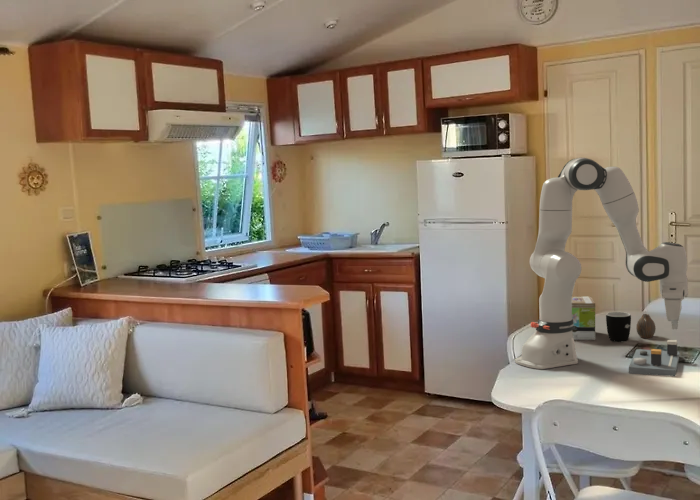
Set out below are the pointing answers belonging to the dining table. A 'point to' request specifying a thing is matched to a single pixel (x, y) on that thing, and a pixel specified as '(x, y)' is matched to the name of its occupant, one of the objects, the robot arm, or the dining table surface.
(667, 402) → the dining table surface
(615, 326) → the mug
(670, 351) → the fader white
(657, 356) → the fader orange
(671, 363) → the console
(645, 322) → the vase
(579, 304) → the tea box
